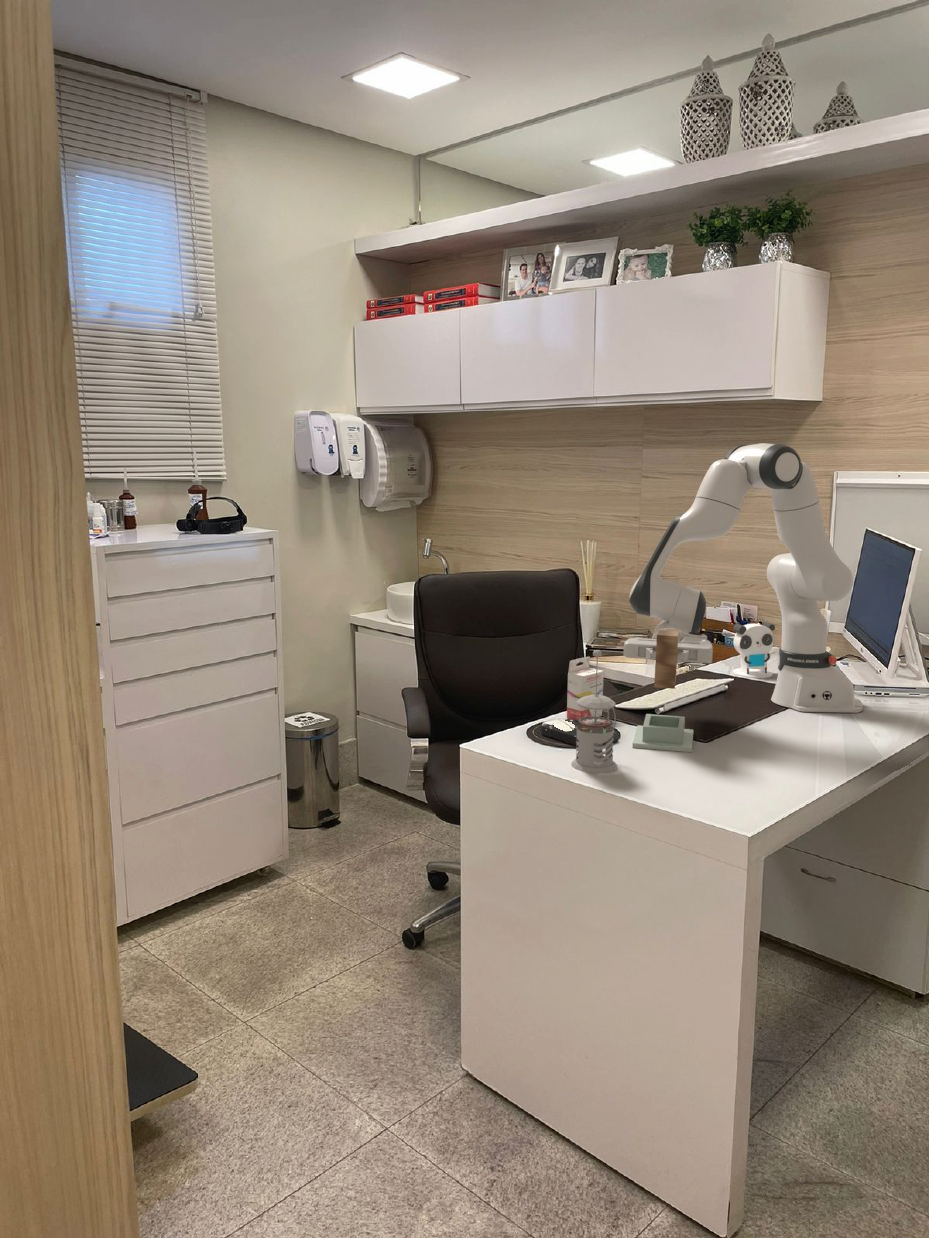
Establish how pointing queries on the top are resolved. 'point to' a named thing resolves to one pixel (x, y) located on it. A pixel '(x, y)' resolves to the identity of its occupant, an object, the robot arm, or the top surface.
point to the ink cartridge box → (582, 687)
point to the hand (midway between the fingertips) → (666, 657)
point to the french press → (595, 734)
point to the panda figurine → (753, 649)
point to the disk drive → (568, 732)
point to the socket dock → (663, 734)
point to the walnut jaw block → (666, 659)
